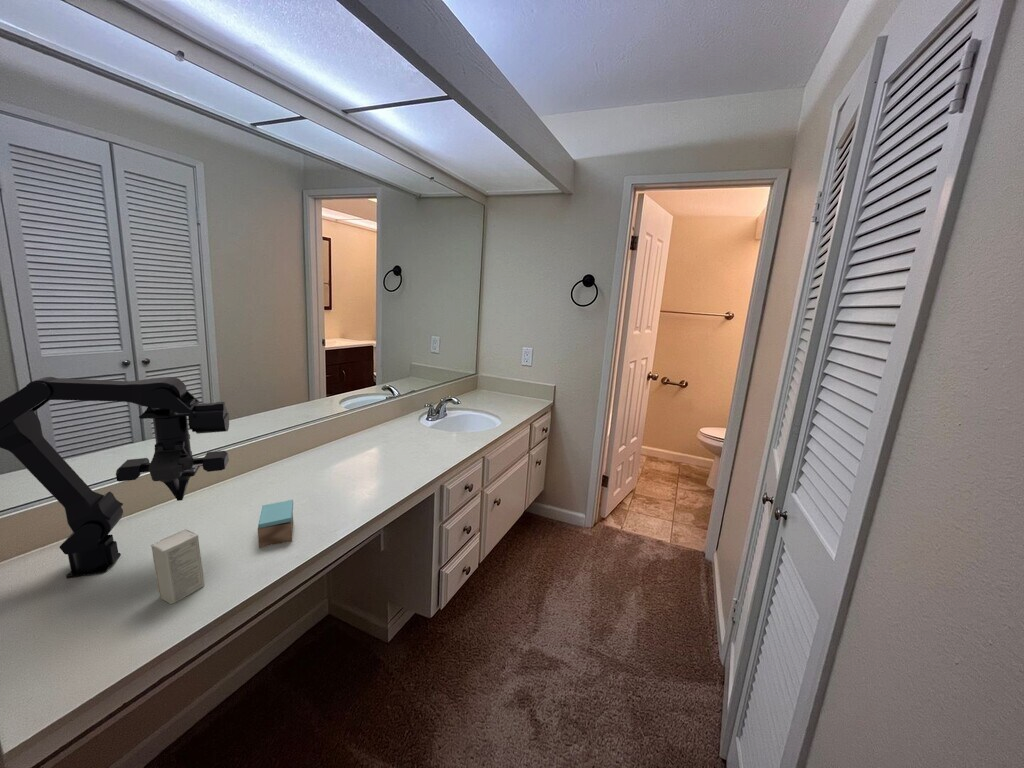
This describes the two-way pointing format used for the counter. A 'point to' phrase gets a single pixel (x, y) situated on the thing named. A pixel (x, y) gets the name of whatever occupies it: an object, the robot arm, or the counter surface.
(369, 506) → the counter surface
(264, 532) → the case
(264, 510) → the lid
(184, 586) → the skincare box
